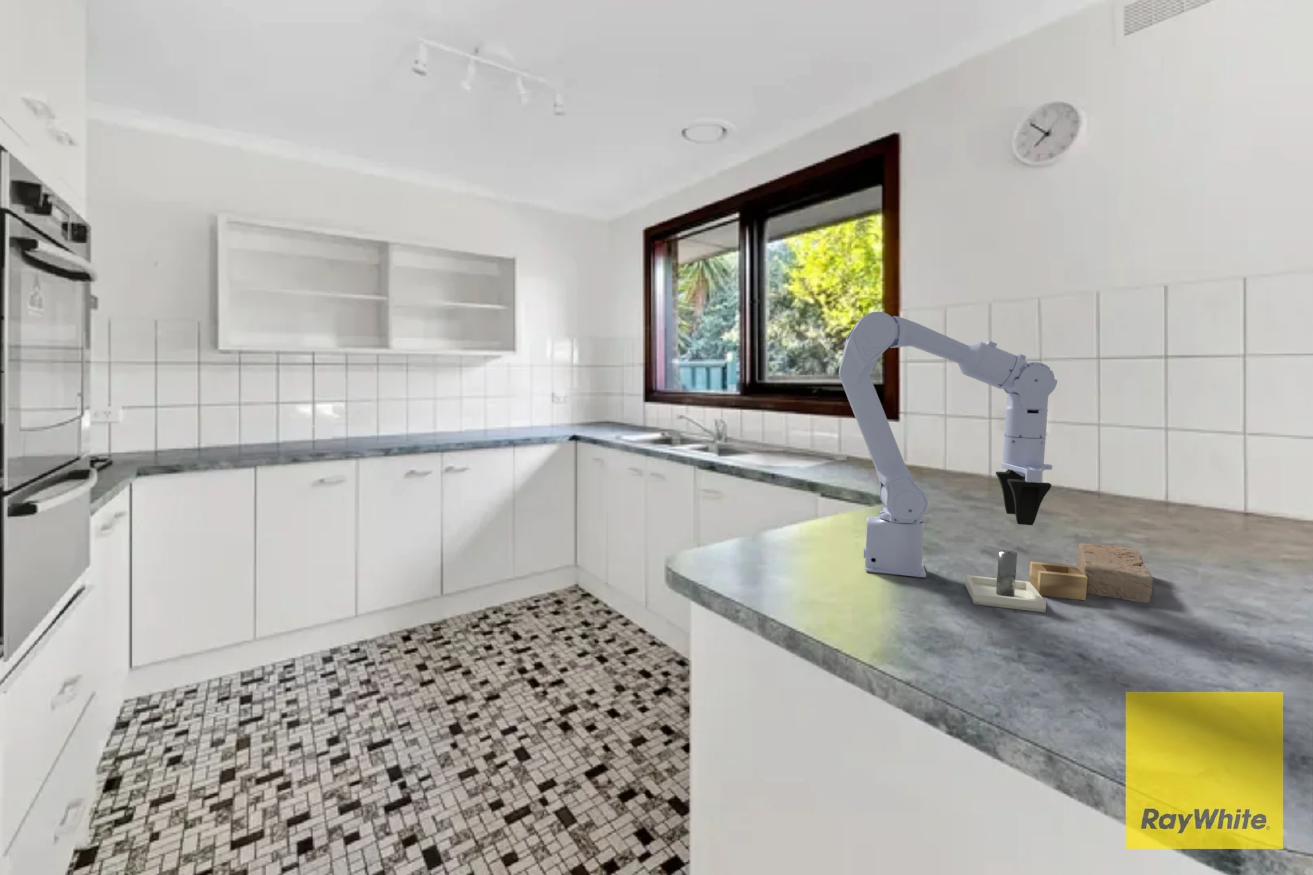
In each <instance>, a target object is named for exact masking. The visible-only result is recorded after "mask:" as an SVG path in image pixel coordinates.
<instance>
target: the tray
mask: <svg viewBox="0 0 1313 875" xmlns="http://www.w3.org/2000/svg"><path fill="white" fill-rule="evenodd" d="M963 582H964V583H963V585H964V587H965V588H966V591H967V593H968V594H969V597H970V599H971V601H972V603H973V605H977V606H978V605H979V606H987V607H993V608H994V607H995V608H1005V609H1012V610H1013V609H1014V610H1021V611H1027V612H1028V611H1029V612H1037V613H1038V612H1039V613H1046V611H1047V610H1046V609H1047V601H1046V600H1045V599H1044V598H1043V597H1042V595H1040V594H1039V593H1038V591H1037V590H1036V589H1035V588H1034V587H1033V585H1032V584H1031V583H1030V582H1029V580H1028V581H1027V580H1015V595H1014V597H1009V596H1000V595H997V594H996V584H997V577H988V576H987V577H986V576H979V575H978V576H977V575H968V574H965V575H964V581H963Z"/></svg>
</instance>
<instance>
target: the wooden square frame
mask: <svg viewBox="0 0 1313 875" xmlns="http://www.w3.org/2000/svg"><path fill="white" fill-rule="evenodd" d="M1028 582H1030V583H1031V584H1032V585H1033V587H1034V588H1035V589H1036V590H1037V591H1038V593H1039V594H1040V595H1041V596H1043V597H1044V596H1045V597H1052V598H1053V597H1054V598H1062V599H1072V600H1079V601H1080V600H1082V601H1086V599H1087V592H1086V589H1087V577H1086V576H1085V575H1084V574H1083V573H1082V572H1081V571H1080V570H1079V569H1078V567H1077V566H1075V565H1074V564H1073V565H1072V564H1064V563H1063V564H1062V563H1053V562H1040V561H1030V562H1029V572H1028Z"/></svg>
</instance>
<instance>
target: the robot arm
mask: <svg viewBox="0 0 1313 875" xmlns="http://www.w3.org/2000/svg"><path fill="white" fill-rule="evenodd" d="M997 346H998V343H997V342H994V341H991V340H989V341H986V342H983V341H977V342H975V343H972V344H969V345H967V344H965V343H963V342H960V341H958V340H956V339H954V338H952V337H950V336H947V335H945V334H943V333H940V332H938V331H936V330H933V329H931V328H929V327H926V326H924V325H922V324H920V323H918V322H915V321H912V320H909V319H908V318H904V317H901V316H896V315H893V316H892V315H890V314H888V313H886V312H883V311H871V312H869V313H867V314H865V315H864V316H862V318H860V320H858V321H857V322H856V323H855V325H854V326H853V327H852V329H851V331H850V332H849V333H848V335H847V336H846V339H845V344H844V348H843V352H842V356H841V361H840V365H839V369H838V376H839V380H840V382H841V384H842V387H843V390H844V392H845V394H846V397H847V400H848V402H849V406H850V407H851V410H852V413H853V415H854V417H855V419H856V424H857V425H858V427H859V430H860V432H861V435H862V437H863V440H864V442H865V445H866V447H867V451H868V453H869V455H870V458H871V460H872V463H873V465H874V468H875V472H876V475H877V478H878V481H879V492H878V493H879V494H878V496H879V498H880V501H881V503H882V505H884V507H883V508H882V509H881V510H880V511H879V512H878V516H867V517H866V533H865V534H866V535H865V536H866V537H865V546H864V547H863V558H864V559H865V562H864V563H865V564H864V565H865V566H864V567H865V569H864V570H865V572H869V573H876V574H879V573H880V574H886V575H887V574H888V575H898V576H906V577H907V576H908V577H915V578H916V577H917V578H927V572H926V570H925V566H924V562H923V550H924V535H925V534H924V532H925V530H924V529H925V516H924V514H925V513H926V511H927V509H928V504H929V502H928V497H927V495H926V493H925V492H924V491H923V489H922V488H920V487H919V486H918V485H917V484H916V483H915V481H914V479H913V476H912V475H911V472H910V471H909V470H910V469H908V467H907V465H906V463H905V461H904V459H903V456H902V453H901V451H900V449H899V447H898V443H897V441H896V438H895V436H894V434H893V431H892V428H891V426H890V423H889V421H888V418H887V416H886V413H885V410H884V408H883V405H882V403H881V400H880V398H879V396H878V393H877V390H876V388H875V386H874V383H873V380H872V378H871V373H872V371H873V369H874V367H875V365H876V364H877V362H878V360H879V357H881V355H882V354H883V353H884V352H885V351H886V350H888V349H889V348H890V349H892V348H894V349H895V348H903V347H904V348H907V347H912V348H915V349H917V350H920V351H924V352H926V353H928V354H932V355H935V356H937V357H940V358H942V359H946V360H948V361H951V362H953V363H957V364H958V368H959V369H960V371H961V372H960V373H961V374H962V375H965V376H966V377H969V378H972V379H975V380H976V381H979V382H982V383H985V384H987V385H989V386H992V387H995V388H996V389H998V390H999V389H1000V390H1003V391H1004V392H1005V394H1007V397H1006V408H1005V417H1004V418H1005V419H1004V434H1003V435H1004V436H1003V451H1002V461H1001V462H1000V467H1001V469H1005V471H996V472H995V475H996V477H997V479H998V482H999V484H1000V487H1001V491H1002V497H1003V504H1004V509H1005V513H1006V514H1007V515H1015V520H1016V524H1017V525H1023V526H1025V525H1027V526H1034V523H1035V522H1036V518H1037V515H1038V512H1039V510H1040V507H1041V505H1042V502H1043V499H1044V498H1045V496H1046V495H1047V493H1048V492H1050V490H1051V488H1052V484H1051V483H1049V482H1042V481H1043V480H1042V479H1043V473H1044V471H1045V470H1048V471H1049V470H1053V465H1052V464H1050V463H1045V452H1046V451H1045V450H1046V438H1047V425H1048V424H1047V423H1048V410H1049V409H1048V406H1049V397H1050V395H1051V394H1052V393H1053V392H1054V390H1055V389H1056V386H1057V384H1058V380H1057V379H1056V378H1055V374H1054V371H1053V370H1051V368H1050V367H1049V366H1048V365H1047V364H1044V363H1042V362H1039V361H1035V362H1034V361H1032V362H1028V361H1026V358H1027V356H1026V355H1024V354H1022V353H1019V354H1017V355H1016V354H1013V353H1011V352H1008V351H1006V350H1003V349H1000V348H998V347H997Z"/></svg>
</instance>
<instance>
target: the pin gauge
mask: <svg viewBox="0 0 1313 875" xmlns="http://www.w3.org/2000/svg"><path fill="white" fill-rule="evenodd" d="M997 557H998V558H997V569H996V570H997V571H996V578H997V584H996V594H997V595H1000V596H1009V597H1014V595H1015V580H1016V577H1017V565H1018V564H1017V562H1018V553H1017V552H1016V551H1014V550H1008V549H1000V550H998V555H997Z"/></svg>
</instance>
